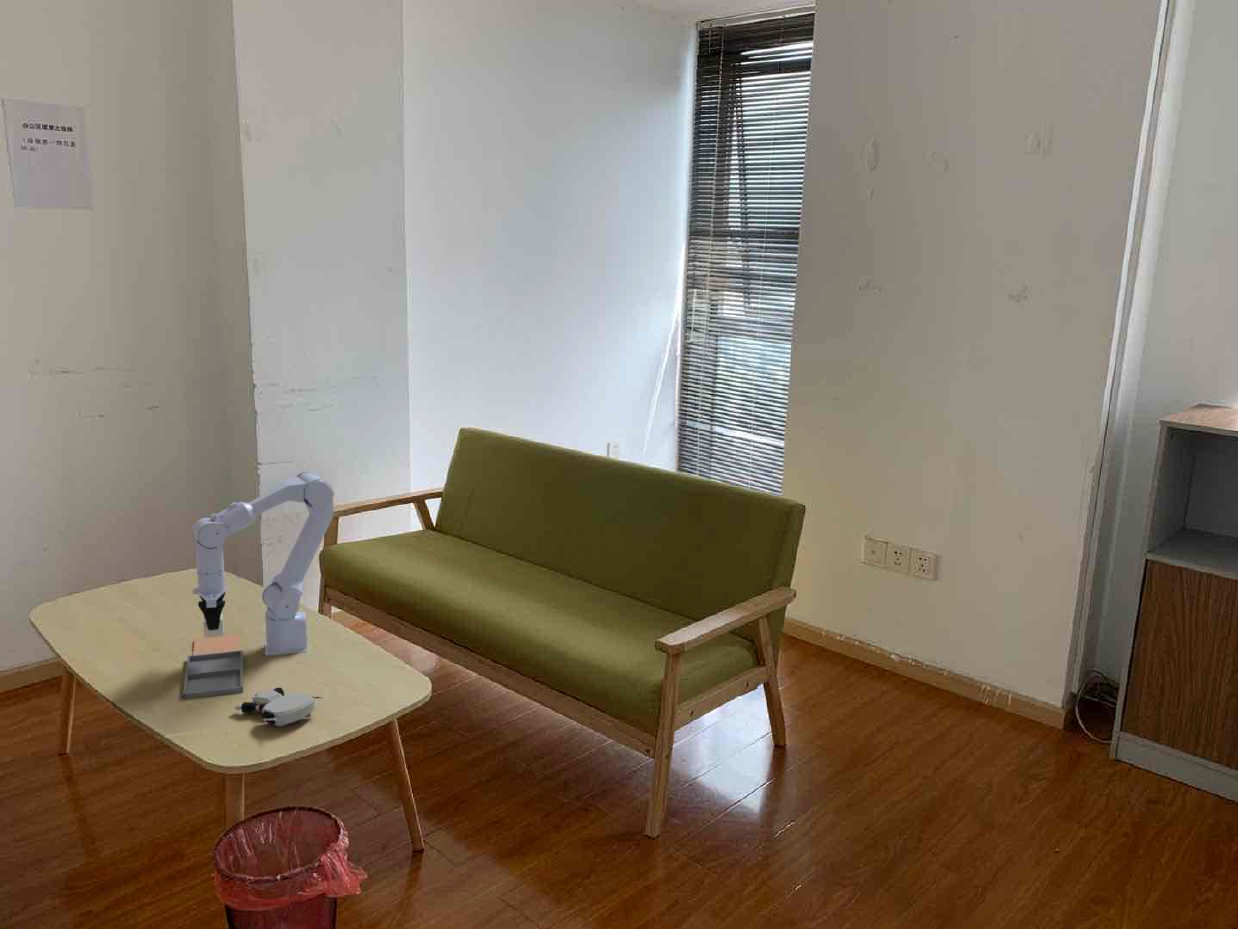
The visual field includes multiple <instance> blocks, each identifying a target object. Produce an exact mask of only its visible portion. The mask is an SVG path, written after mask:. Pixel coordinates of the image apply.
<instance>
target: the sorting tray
mask: <svg viewBox="0 0 1238 929" xmlns="http://www.w3.org/2000/svg"><path fill="white" fill-rule="evenodd" d="M182 691H183V692H182V699H183V700H188V699H196V698H198V699H199V698H204V697H212V696H221V695H230V694H240V693H243V692H244V652H243V650H238V651H231V652H221V653H211V654H201V655H193V654H192V655H187V658H186V668H185V673H184V681H183V690H182Z"/></svg>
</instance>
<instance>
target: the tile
mask: <svg viewBox="0 0 1238 929" xmlns="http://www.w3.org/2000/svg"><path fill="white" fill-rule="evenodd" d="M239 635H240V634H238V633H237V634H231V635H230V634H229V635H223V636H219V637H209V638H204V637H199V638H197V637H196V638H194V644H193V652H192V655H201V654H211V653H221V652H231V651H239V647H240V646H239V642H240V640H239V638H240V637H239Z"/></svg>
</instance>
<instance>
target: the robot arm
mask: <svg viewBox="0 0 1238 929" xmlns="http://www.w3.org/2000/svg"><path fill="white" fill-rule="evenodd" d="M334 496H335V491H334V490H333V488H332V486H331V484H330V483H329V482H328V481H327V480H325V479H323V478H321V477H320V476H318V475H317V474H316V473H315V472H313V471H309V470H305V471H301V472H299V473H298V474H297V475H292V476H290V477H289V478H288V479H286V480H285V481H283V482H281V484H279V485H277V486H275V487H274V488H272V489H270V490H268V491H267V492H265V493H263V494H262V495H260V496H258V497H256V498H255V499H253V500H251V501H250V502H243V501H239V502H236V501H233V502H232V503H230V504H229V507H228V508H225V509H223V510H221V511H220V512H218V513H211V514H210V517H203V518H200V519H199V520H197V521H196V522H195V524H193V526H192V530H191V531H190V532H191V535H192V537H193V538H194V539H195V540H196V541H195V559H196V561H195V562H196V576H197V577H196V578H197V587H196V588H193V589H192V594H194V595H196V594H197V595H198V596H199V598H200V601H198V607H199V609H200V611H201V612H202V614H203V618H204V617H205V620H206V624H207V627H208V630H218V628H219V624H220V616H221V614H222V611H223V609H224V607H225V606H226V600H224V598H225V596H226V592H227V587H226V583H225V582H226V581H225V562H224V550H223V544H224V543H225V540H226V538H227V537H230V536H231V535H233V534H235V533H237V532H239V531H241V530H243V529H244V528H246V527H248V526H250V525H252V524H254V522H255V520H256V517H257V516H258V515H261V514H262V513H265V512H267V511H269V510H271V509H273V508H276V507H277V506H280V505H282V504H284V503H286V502H297V503H304V504H305V506H306V509H307V512H308V516H307V519H306V521H305V522H304V524H303V527H302V529H301V531H300V533H299V535H298V537H297V540H296V541H295V543H294V544H293V547H292V548H291V551H290V554H289V555H288V558H287V560H286V561H285V564H284V566H283V568H282V570H281V572H280V573H278V574H277V575H275V576H274V577H273V579H272V581H271V583H270V584H268V585H267V586H266V587H265V588H264V590H262V593H261V599H262V602H263V604H264V605H265V606H266V611H265V636H266V638H265V639H266V641H264V654H265V656H268V657H269V656H277V655H285V654H296V653H304V652H305V653H307V651H308V648H307V647H308V646H307V642H308V633H307V621H306V620H307V619H306V612H305V611H299V610H300V600H301V596H302V595H303V581H304V578H305V576H306V574H307V571H308V570H309V568H310V566H311V564H312V562H313V559H314V557H315V555H316V553H317V551H318V549H319V547H320V545H321V543H322V541H323V539H324V537H325V535H326V532H327V530H328V528H329V527H330V524H331V522H332V520H333V518H334V514H335V513H334V512H335V511H334Z"/></svg>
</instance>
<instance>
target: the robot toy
mask: <svg viewBox="0 0 1238 929" xmlns="http://www.w3.org/2000/svg"><path fill="white" fill-rule="evenodd" d="M251 698H252V701H251V702H250V701H249V702H248V701H244V702H242V703H239V704H237V705H236V706H234V709H235V710H236V711H241V712H242V713H252V712H254V711H256V712H258V713H261V719H262V720H263V722H265V723H267V724H270V725H273V726H274V727H275V726H276V727H284V726H286V725H290V724H292V723H294V722H297V721H300V720H302V719H304V718H305V717H306V716H308V715H310V714H311V713H312V712H313V711H314V709H315V708H316V700H315V699H323V698H324V696H322V695H320V696H313V695H311V694H308V693H305V692H302V691H298V692H291V693H287V694H285V691H284V690H283V688H282V687H276V688H275V687H274V688H272V689H266V690H262V691H259V692H258V693H256V694H253V695H252V696H251Z"/></svg>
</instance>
